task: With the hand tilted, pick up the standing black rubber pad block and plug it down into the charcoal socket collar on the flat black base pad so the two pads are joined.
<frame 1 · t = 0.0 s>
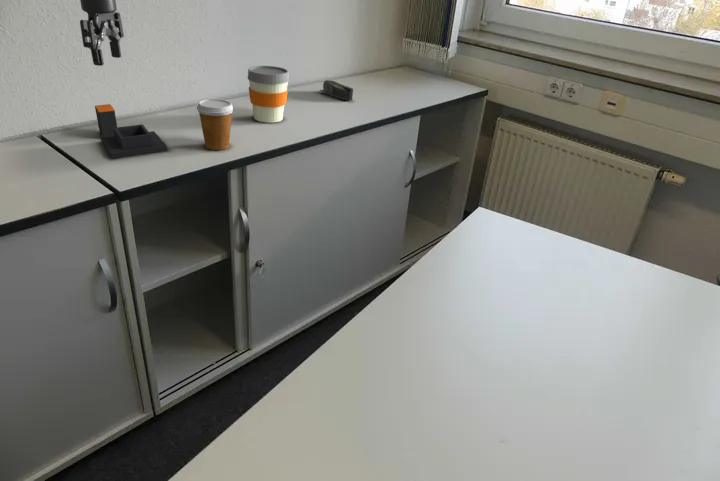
hand: (107, 61, 133), 23 cm above the table, tool pointing down, fingers open, 8 cm apart
reusable coffee cup: (268, 118, 172), on the table
mobile phone: (335, 96, 199), on the table
disposable coffee cup: (217, 146, 150), on the table
base pad: (134, 147, 145), on the table
pad block: (109, 135, 151), on the table
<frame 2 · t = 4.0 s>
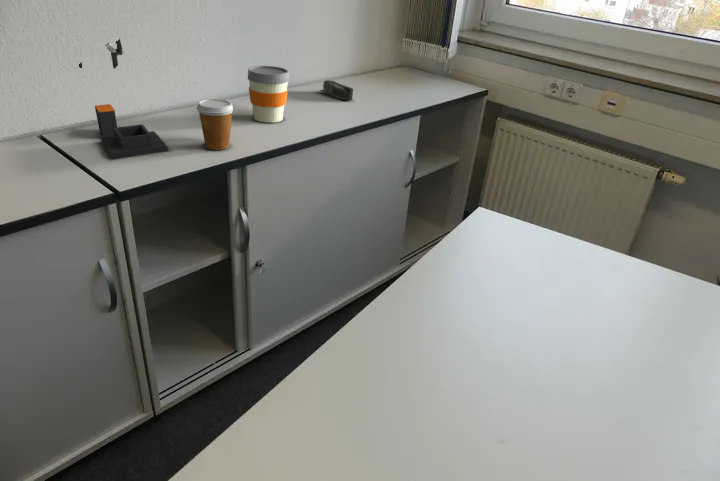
hand: (98, 67, 151), 16 cm above the table, tool tilted 45°, fingers open, 8 cm apart
nothing on the table moved.
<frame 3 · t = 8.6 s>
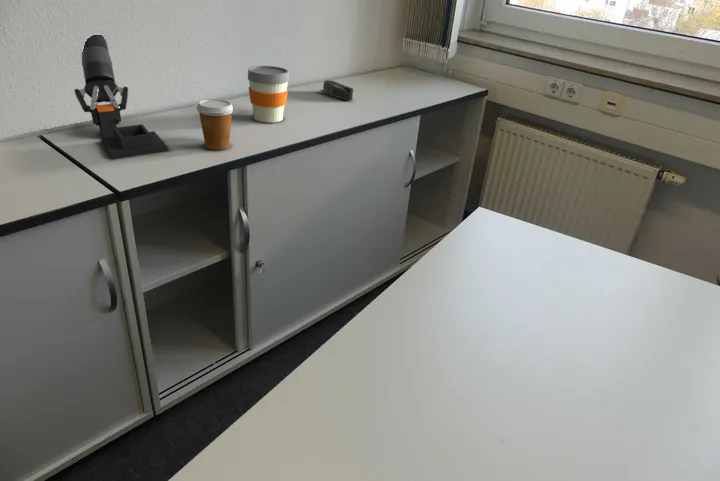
hand: (107, 123, 147), 4 cm above the table, tool tilted 45°, fingers closed on pad block, 4 cm apart
pad block: (109, 135, 151), on the table, touching gripper
everything else where it was.
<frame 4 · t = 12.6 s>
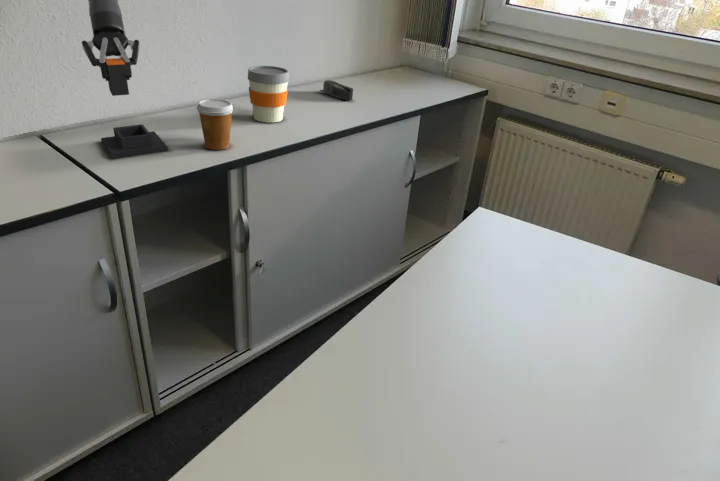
hand: (117, 78, 136), 18 cm above the table, tool tilted 45°, fingers closed on pad block, 4 cm apart
pad block: (119, 92, 140), point 14 cm above the table, touching gripper
everything else where it was.
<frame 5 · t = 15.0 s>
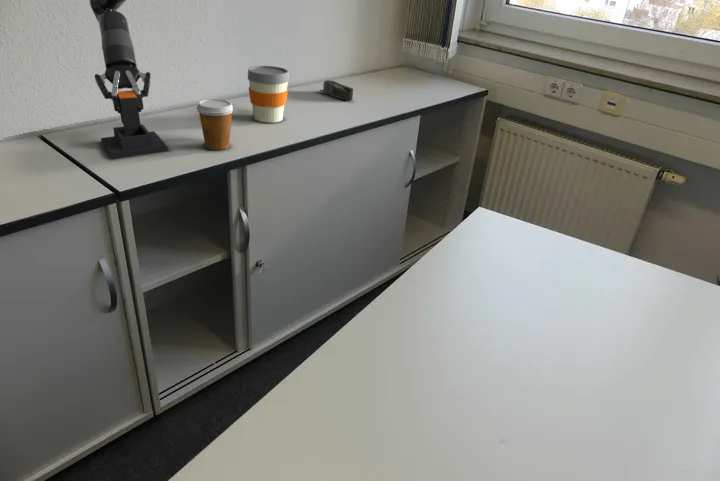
hand: (129, 111, 139), 10 cm above the table, tool tilted 45°, fingers closed on pad block, 4 cm apart
pad block: (131, 123, 142), point 6 cm above the table, touching gripper
everything else where it was.
when the fingers open (6 cm above the table, at t = 16.7 s): pad block stays where it is, resting on base pad.
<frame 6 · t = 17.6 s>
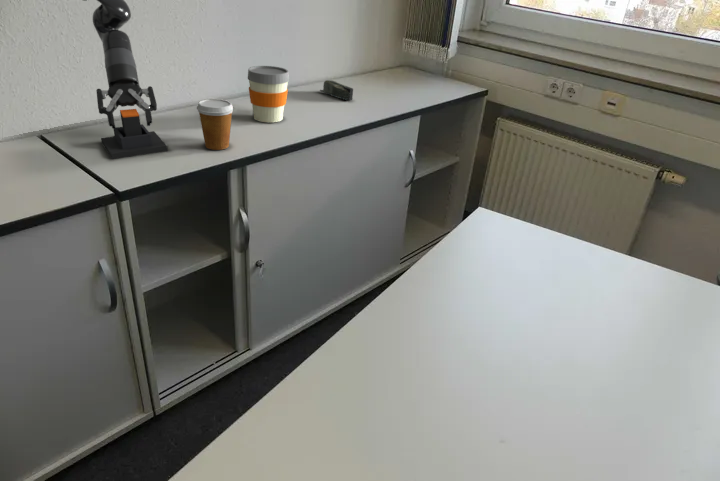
hand: (131, 125, 141), 6 cm above the table, tool tilted 45°, fingers open, 8 cm apart
pad block: (133, 141, 145), point 1 cm above the table, touching base pad
everything else where it was.
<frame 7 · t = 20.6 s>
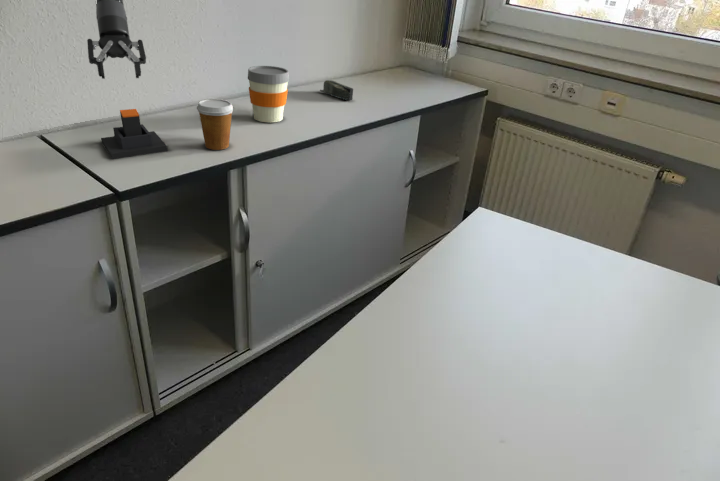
hand: (120, 77, 146), 16 cm above the table, tool tilted 40°, fingers open, 8 cm apart
nothing on the table moved.
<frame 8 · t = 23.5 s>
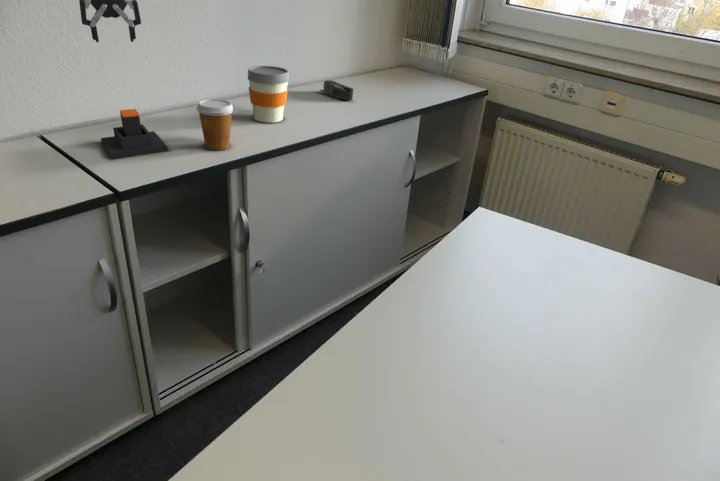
hand: (114, 41, 144), 24 cm above the table, tool pointing down, fingers open, 8 cm apart
nothing on the table moved.
at the end: pad block 0.2 cm off-centre on the base pad, point 1.5 cm above the base pad's base; pad block tilted 0°; the gripper is holding nothing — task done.
